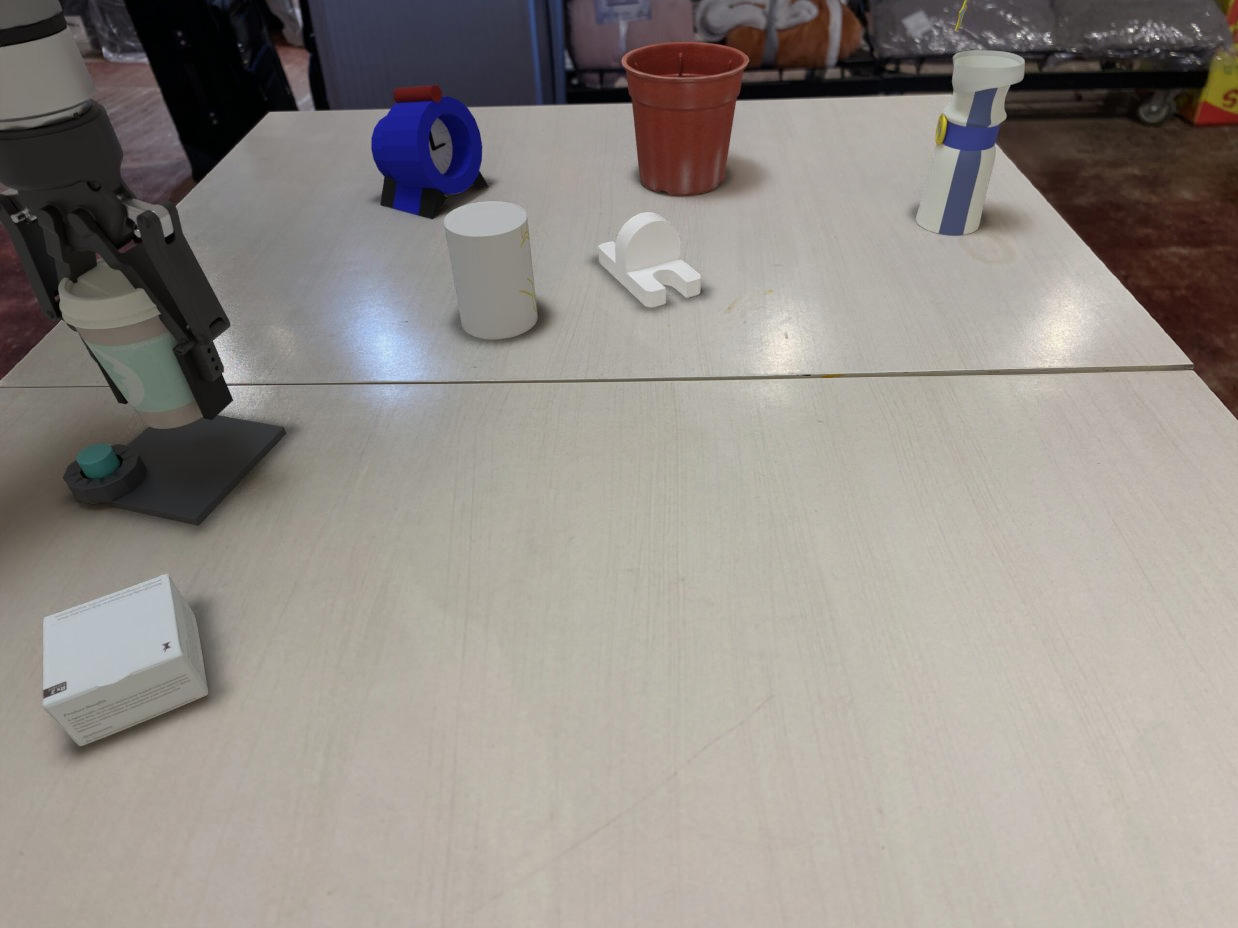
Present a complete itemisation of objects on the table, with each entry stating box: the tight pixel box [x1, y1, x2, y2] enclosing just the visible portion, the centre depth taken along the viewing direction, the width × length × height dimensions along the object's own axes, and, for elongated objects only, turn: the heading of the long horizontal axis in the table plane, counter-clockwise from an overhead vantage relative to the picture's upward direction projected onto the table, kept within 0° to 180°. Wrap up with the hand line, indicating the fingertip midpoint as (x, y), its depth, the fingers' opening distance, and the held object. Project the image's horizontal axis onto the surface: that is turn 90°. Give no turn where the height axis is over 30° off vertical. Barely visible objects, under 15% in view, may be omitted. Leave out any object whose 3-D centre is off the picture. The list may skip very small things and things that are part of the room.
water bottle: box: [915, 0, 1026, 236], centre depth 94 cm, size 8×9×25 cm
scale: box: [62, 414, 287, 526], centre depth 68 cm, size 13×13×3 cm
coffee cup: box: [58, 257, 203, 429], centre depth 62 cm, size 8×9×12 cm
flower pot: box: [621, 41, 750, 197], centre depth 110 cm, size 16×16×16 cm
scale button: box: [75, 442, 120, 479], centre depth 65 cm, size 3×3×2 cm
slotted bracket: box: [597, 211, 702, 308], centre depth 90 cm, size 13×7×8 cm, turn 27°
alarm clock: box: [370, 84, 490, 220], centre depth 108 cm, size 12×12×15 cm
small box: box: [41, 573, 209, 747], centre depth 52 cm, size 8×8×5 cm
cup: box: [443, 200, 539, 340], centre depth 83 cm, size 8×8×12 cm
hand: (175, 401), depth 66 cm, fingers closed on coffee cup, 8 cm apart
